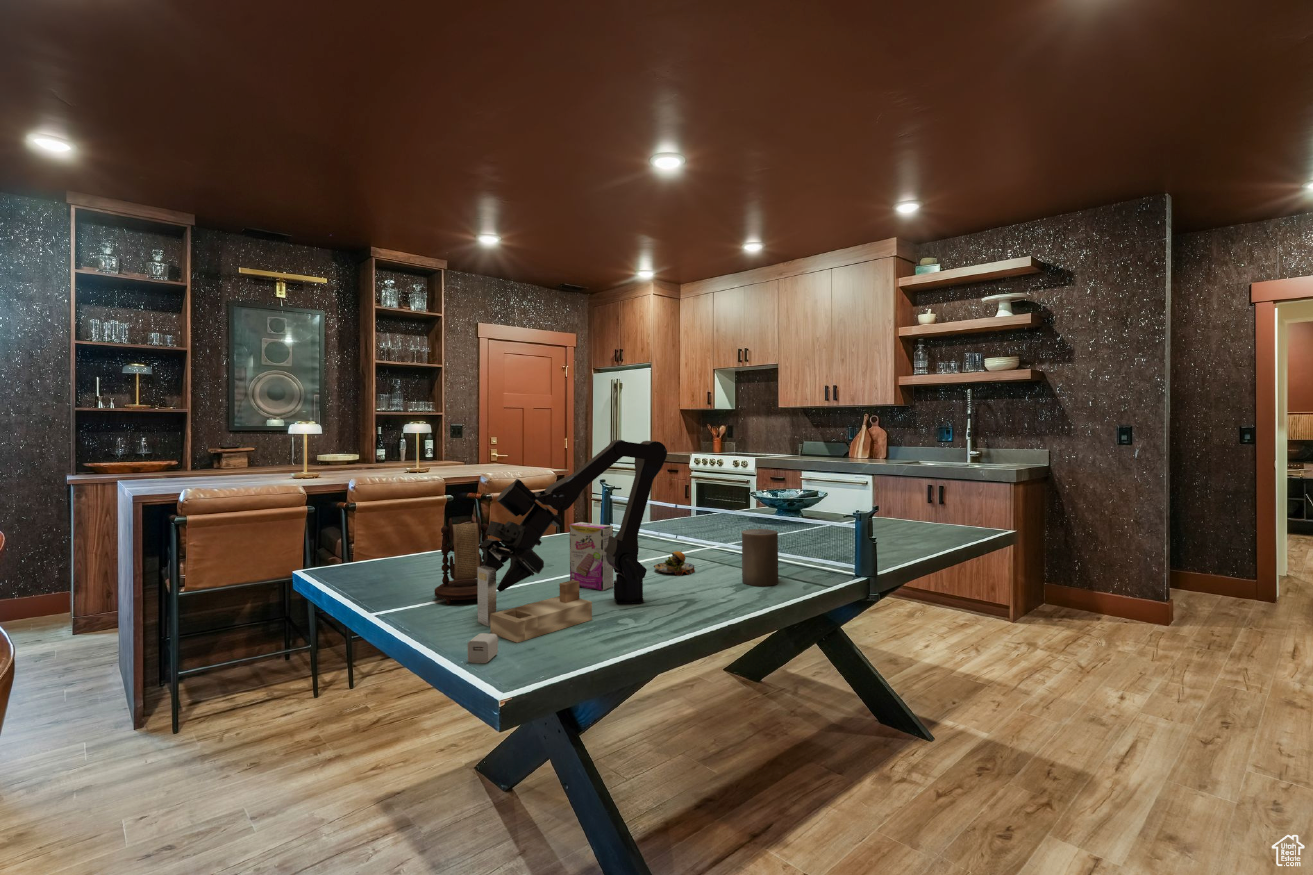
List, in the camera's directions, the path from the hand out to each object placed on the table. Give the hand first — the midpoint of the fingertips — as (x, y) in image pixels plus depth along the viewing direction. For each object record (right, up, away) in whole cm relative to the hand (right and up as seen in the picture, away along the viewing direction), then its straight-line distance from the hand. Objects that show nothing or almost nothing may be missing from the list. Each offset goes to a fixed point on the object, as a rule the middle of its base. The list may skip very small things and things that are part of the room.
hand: (487, 586), depth 145 cm
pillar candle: (+64, -7, +35) cm, 74 cm away
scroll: (-11, -8, +21) cm, 25 cm away
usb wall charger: (+5, -9, -20) cm, 22 cm away
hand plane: (+12, -8, -2) cm, 15 cm away
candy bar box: (+19, -7, +31) cm, 37 cm away
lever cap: (0, -8, 0) cm, 8 cm away
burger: (+42, -7, +49) cm, 65 cm away
